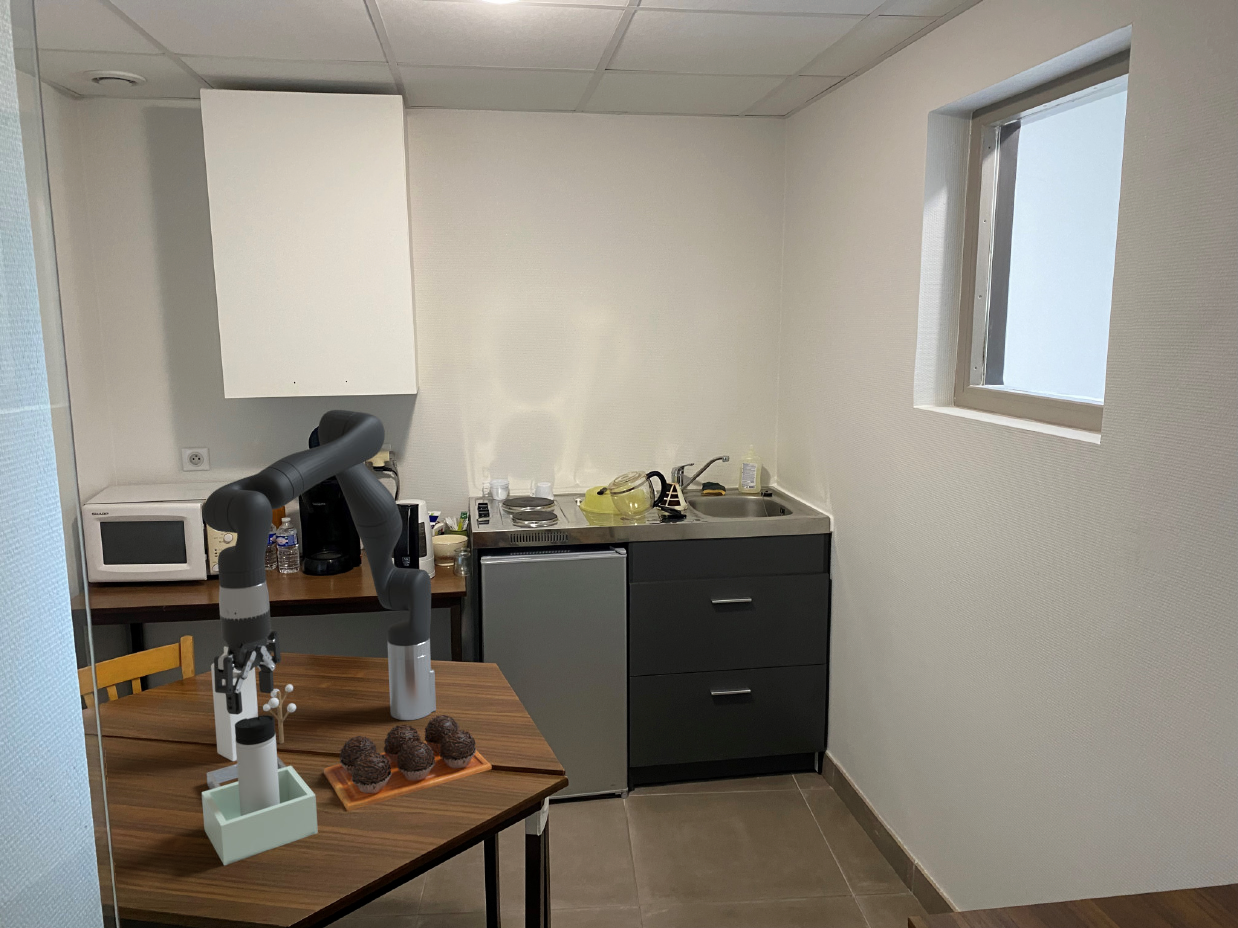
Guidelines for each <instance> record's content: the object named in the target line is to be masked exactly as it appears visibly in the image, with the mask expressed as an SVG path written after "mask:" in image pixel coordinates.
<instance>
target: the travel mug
mask: <svg viewBox="0 0 1238 928" xmlns="http://www.w3.org/2000/svg"><path fill="white" fill-rule="evenodd" d="M275 727H276V726H275V716H274V715H270V714H269V715H268V714H267V715H266V714H264V715H263V714H262V715H258V717H254V718H249V719H247V718H245V719H242V720H240V721H238V722H237V723H236V724H235V735H236V739H235V741H236V755H237V760H236V764H237V770H238V778H237V782H238V784H239V798H240V813H241V816H243V815H247V814H250V813H253V812H256V811H259V810H262V809H265V808H268V807H271V806H274V805H278V804H280V798H279V782H278V766H277V756H278V753H277V740H276V739H277V737H276V736H277V735H276V729H275Z"/></svg>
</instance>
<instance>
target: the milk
mask: <svg viewBox="0 0 1238 928" xmlns="http://www.w3.org/2000/svg"><path fill="white" fill-rule="evenodd" d="M227 652H228V646H223V653H222V655H221V656H225V655H227ZM210 670H211V671H210V672H211V681H212V684H211V685H212V696H213V697H212V698H213V710H214V723H215V737H216V738H215V739H216V750H217V754H218V755H221V756H222V757H224V758H226V759H227V760H230V761H231V762H235V761H236V762H237V755H236V741H235V739H236V735H235V724H236V723H237V722H238V721H240V720H242V719H245V718H247V719H249V718H254V717H258V716H259V711H258V709H259V708H258V699H257V698H258V696H257V684H256V683H257V682H256V679H257V678H256V667H254V668H253V669H252V670H251V671H249V674H248V677H247V678H246V679H245V680H244V681H243V683H242V687H241V690H240V691H241V698H242V712H241V713H240V714H238V715H236V714H229V713H228V711H227V703H226V694H225V693H216V692H215V676H214V662H213V663H212V664H211V665H210ZM233 672H236V673H240V672H241V671H238V670H236V669H235V668H234V670H233ZM236 680H237V679H233V685H235V683H236ZM224 683H225V680H224V679H222V685H224Z"/></svg>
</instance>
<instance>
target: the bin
mask: <svg viewBox="0 0 1238 928" xmlns="http://www.w3.org/2000/svg"><path fill="white" fill-rule="evenodd" d="M278 782H279V798H280V804H278V805H274V806H271V807H268V808H265V809H262V810H259V811H256V812H253V813H250V814H247V815H243V816H241V813H240V798H239V784H238V781H235V782H231V783H228V784H225V785H222V786H221V785H220V786H221V787H218V788H214V789H208V790H205V791H202V792H201V803H202V813H203V826H204V829H203V830H204V832H205V833H206V836H207V837H208V839H209V841H210V843H211V844H212V846H213V848H214V850H215V851H216V854H217V856H218V857H219V859H220V860H221V862H222V864H223V866H227V865H230V864H232V863H235V862H238V861H239V862H240V861H241V860H244V859H248V858H250V857H252V856H256V855H258V854H261V853H265V852H267V851H270V850H272V849H276V848H278V847H282V846H284V845H287V844H290V843H293V842H296V841H298V840H301V839H304V838H307V837H311V836H312V835H313V836H314V835H316V834H318V831H319V830H318V818H317V817H318V813H317V812H318V811H317V797H316V794H315V793H314V791H313V790H312V789H311V788H310V786H308V784H307V783H306V782H305V781H304V779H303V778H302V777H301V775H300V774H298V772H297V771H296V770H295V768H294V767H293V765H288V766H286V767H284V768H281V769H278Z"/></svg>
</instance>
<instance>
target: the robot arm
mask: <svg viewBox="0 0 1238 928" xmlns="http://www.w3.org/2000/svg"><path fill="white" fill-rule="evenodd" d="M317 434H318V441H319V446H315V447H312V448H308V449H305V450H302V451H299V452H298V451H297V452H295V453H294V452H293V453H291V454H289V455H287V456H283V457H282V458H279V459H278V460H277V461H276V460H275V462H273V463H271V464H270V465H268V466H267V467H265V468H263V469H262V470H260V471H259V472H257V473H255V474H252V475H249V476H246V477H243V478H240V479H238V480H235V481H231V482H230V483H227V484H224V485H223V486H221V487H218V488H217V489H215V490H214V491H213V492H211V493H210V495H209V496H208V497H207V498H206V500H205V501H204V504H203V507H202V518H203V520H204V522H205V524H206V525H207V526H208V527H209V528H211V529H212V530H215V531H217V532H222V533H231V534H232V533H233V534H236V536H237V537H236V541H235V545H231V546H228V547H225V548H224V549H222V550H221V551H220V552H219V554H218V556H217V569H218V582H219V593H218V605H219V619H220V631H221V632H220V633H221V639H222V640H223V642H225V643H226V644H227V647H228V652H227V655H225V656H222V655H216V656H215V657H214V658H213V663H214V676H215V692H216V693H225V694H226V703H227V711H228V713H229V714H236V715H238V714H240V713H241V712H242V698H241V691H240V690H241V687H242V683H243V681H244V680H245V679H246V678H247V677H248V674H249V671H251V670H252V669H253V668H254V667H255V668H256V667H257V668H258V670H259V671H258V684H259V687H258V688H259V692H260V693H263V694H264V693H265V694H271V692H272V691H273V690H274V689H275V688H274V670H275V669H276V665H277V664H280V663H281V661H282V655H281V647H280V635H279V631H278V630H275V629H274V630H273V629H272V625H271V611H270V609H271V608H270V597H269V596H270V595H269V590H268V585H267V577H266V573H267V572H266V563H265V562H266V561H265V557H266V551H267V547H268V543H269V539H270V538H269V537H270V533H271V530H272V529H271V528H272V522H273V511H274V510H278V509H281V508H282V507H285V506H286V505H288V504H289V503H291V502H292V501H293V500H295V499H297V498H298V497H299V496H301V495H302V494H304V493H305V492H307V491H308V490H310V489H312V488H313V487H314V486H316V485H317V484H320V483H321V482H323V481H325V480H327V479H329V478H331V477H333V476H335V478H336V479H337V481H338V484H339V486H340V488H341V489H340V490H341V491H342V493H343V496H344V498H345V501H346V504H347V506H348V509H349V512H350V515H351V518H352V521H353V523H354V526H355V529H356V531H357V534H358V536H359V538H360V541H361V543H362V547H363V548H364V549H363V550H364V551H365V555H366V558H367V561H368V565H369V568H370V572H371V576H372V581H373V584H374V589H375V592H376V596H377V599H378V600H379V603H380V605H381V606H382V607H383V608H385V609H388V610H393V611H405V612H406V611H407V612H408V613H409V616H408V618H407V619H404V620H400V621H398V622H395V623H393V624H392V625H390V626H389V627H388V628H387V631H386V632H387V633H386V637H387V638H386V641H387V659H388V664H387V665H388V683H389V684H388V685H389V709H390V710H389V711H390V716H391V717H392V718H394V719H397V720H400V721H414V720H420V719H423V718H425V717H427V716H429V715H430V714H431V713H432V712H435V711H437V706H436V705H437V703H436V702H437V701H436V698H437V697H436V681H435V680H436V679H435V677H436V676H435V675H436V674H435V673H436V672H435V669H433V668H432V665H431V662H432V661H431V635H430V634H431V633H430V632H431V622H432V620H431V619H432V610H431V608H432V582H431V577H430V574H429V573H428V572H427V571H426V569H425V570H424V569H419V568H403V567H402V568H401V567H397V566H396V565H395V564H394V561H393V559H392V557H393V556H392V554H393V551H394V549H395V548H396V545H397V543H398V541H399V539H400V537H401V534H402V532H403V519H402V515H401V512H400V510H399V506H398V504H397V501H396V499H395V498H394V496H393V494H392V493H391V491H390V490H389V489H388V488H387V487H386V485H385V484H384V483H383V482H382V481H380V479H379V478H377V476H376V475H374V473H372V471H370V469H369V468H368V467H367V465H365V462H368V461H369V460H371V459H373V458H374V457H375V456H377V455H378V453H379V452H380V451H381V450H382V448H383V446H384V443H385V437H386V433H385V427H384V423H383V422H382V420H380V418H379V417H377V416H375V415H373V414H371V413H367V412H362V411H353V410H345V409H332V410H328V411H327V412H325V413H324V414H322V416H321V418H320V420H319V423H318V430H317ZM271 652H273V655H272V653H271ZM234 668H235V669H236V670H238V671H241V672H240V673H236V672H233V670H234ZM222 679H224V680H225V683H224V685H222ZM233 679H237V680H236V683H235V685H233Z"/></svg>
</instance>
